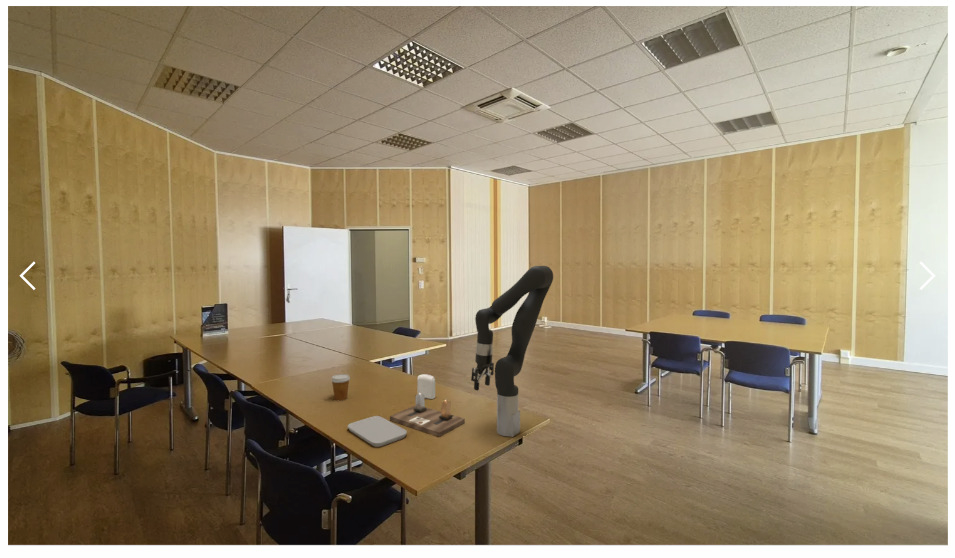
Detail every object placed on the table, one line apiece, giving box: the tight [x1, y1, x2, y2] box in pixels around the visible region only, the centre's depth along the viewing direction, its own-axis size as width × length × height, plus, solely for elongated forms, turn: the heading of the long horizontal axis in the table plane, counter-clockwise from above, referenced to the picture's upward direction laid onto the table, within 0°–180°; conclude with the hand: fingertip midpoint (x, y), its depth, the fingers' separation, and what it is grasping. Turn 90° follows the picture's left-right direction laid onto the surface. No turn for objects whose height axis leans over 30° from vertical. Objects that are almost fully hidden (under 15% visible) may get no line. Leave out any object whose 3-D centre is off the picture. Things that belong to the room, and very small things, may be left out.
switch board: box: [389, 404, 466, 438], centre depth 187 cm, size 30×18×2 cm, turn 55°
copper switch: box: [439, 398, 453, 420], centre depth 186 cm, size 4×4×8 cm
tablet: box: [347, 415, 408, 448], centre depth 176 cm, size 16×26×2 cm, turn 45°
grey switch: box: [414, 392, 428, 412], centre depth 195 cm, size 4×4×8 cm
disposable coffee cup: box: [330, 373, 351, 401], centre depth 217 cm, size 10×10×12 cm
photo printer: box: [416, 373, 436, 400], centre depth 219 cm, size 10×4×12 cm, turn 64°
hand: (481, 387), depth 183 cm, fingers open, 8 cm apart
